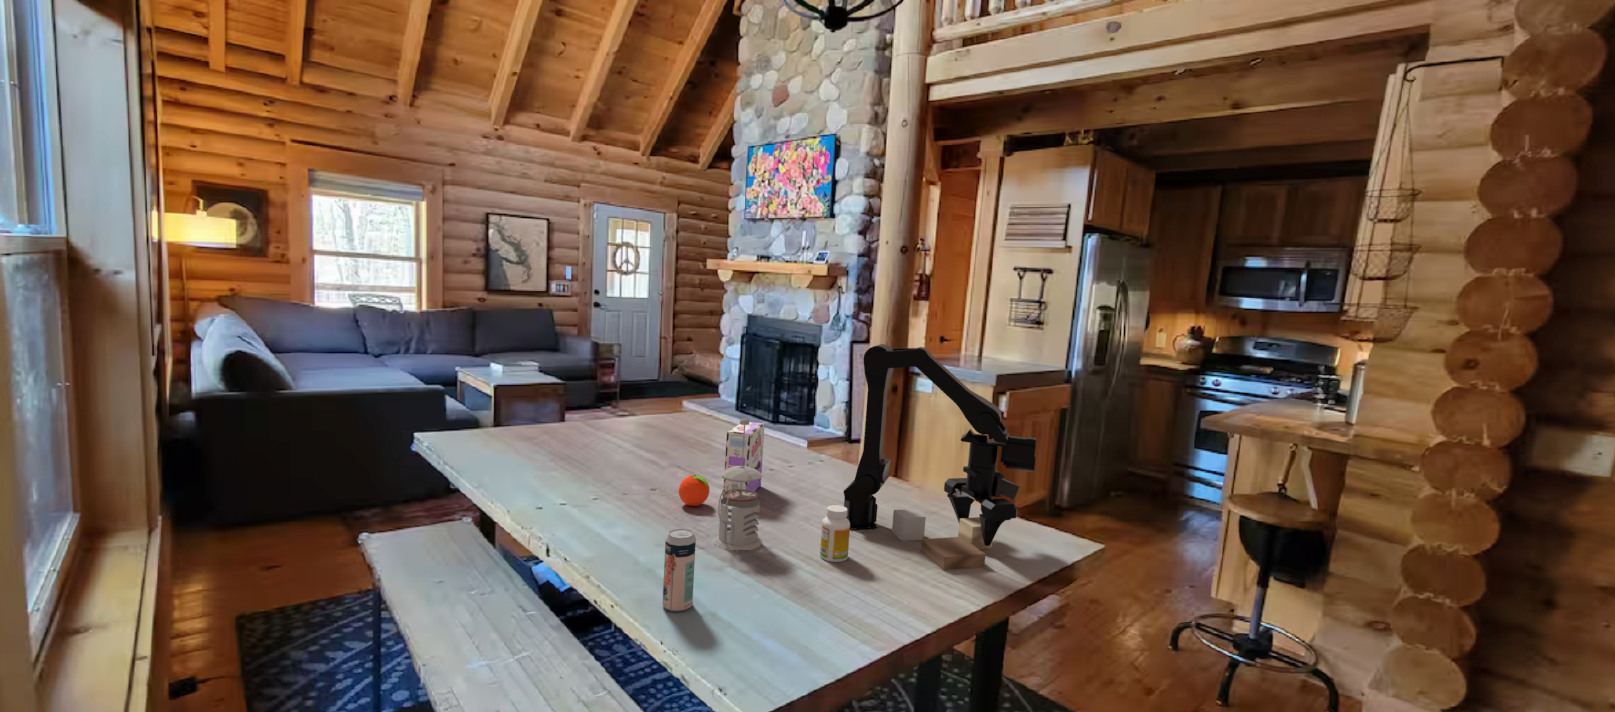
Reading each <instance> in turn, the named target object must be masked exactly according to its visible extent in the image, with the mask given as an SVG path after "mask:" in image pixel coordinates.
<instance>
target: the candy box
mask: <svg viewBox="0 0 1615 712" xmlns="http://www.w3.org/2000/svg"><path fill="white" fill-rule="evenodd" d="M743 434H744V425H741V424H740V423H739V424H737V425H736V426H733V428H731V429H730V430H727V431H726V441H725V442H726V443H725V444H726V445H725V459H724V471H725V470H727V469H728V468H730V467H734V466H742V452H743ZM764 434H765V423H763V422H757V421H756V422H754V421H749V425H745V436H744V453H743V466H747V467H751V468H754V469H756V470H757V471H759V472H760V473H761V474H762V471H763V454H764V438H765V437H764V436H765V435H764ZM762 475H763V474H762ZM725 486H728V490H729V489H732V488H733V487H735V489H736V488H737V489H740V486H741V482H732V481H728V480H725V479H724V478H723V489H724V488H725ZM760 487H762V477H761V478H760V479H759V480H757V481H753V482H742V487H741V489H745V490H746V489H747V490H751V491H755V492H756V491H757V490H758V489H760ZM726 490H727V487H726V488H725V489H724V491H723V490H722V491H723V492H725V491H726ZM723 498H724V497H723V496H722V499H723Z"/></svg>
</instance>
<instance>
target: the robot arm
mask: <svg viewBox="0 0 1615 712" xmlns="http://www.w3.org/2000/svg"><path fill="white" fill-rule="evenodd" d="M862 362H863V368H864V369H863V371H864V376H865V377H864V378H865V381H866V385H867V394H866V395H867V396H866V411H865V423H864V435H863V438H864V439H863V449H862V453H861V457H860V459H859V463H858V465H857V469H856V473H855V477H854V480H852V482H850V484H849V485H847V487H846V488H845V489H844V490H843V495H844V501H843V506H844V507H846V508H847V510H848V511H847V517H846V518H847V519H848V520H849V522H850V530H861V529H862V530H863V529H877V528H878V524H876V522H877V517H878V506H879V505H878V504H877V497H875V496H874V495H876V494H877V493H878V492H879V491H880V490H881V488H882V487H883V486H884V484H885V483H886V482H887V480H888V479H889V477H890V476H891V475H890V469H889V468H890V464H891V458H885V456H884V450H883V449H884V448H883V447H884V436H885V425H886V410H887V395H888V387H889V383H890V380H891V378H892V375H893V372H894V369H901V368H912V367H913V368H916V369H917V370H918V371H920V372H921V373H922V374H923V375H925V377H926V378H927V379H928V380H930V381H931V382H932V383H933V384H934V385H935V386H936V387H937V388H938V389H939V390H940V391H941V392H942V393H943V394H944V395H945V396H947V398H949V399H950V400H951V402H953V403H954V404H955V405H956V406H957V407H958V408H959V410H960V411H961V413H962V415H963V416H964V418H965V419H966V420H967V422H968V423H969V425H970V426H971V427H972V428H973V429H974V431H973V430H972V429H971V428H969V429H968V431H967V432H966V433H964V434H962V435H961V437H960V441H961V443H969V448H968V459H967V460H968V461H967V465H966V466H964V465H963V466H962V467H963V468H962V472H964V473H966V477H956V478H955V477H953V478H948V479H947V480H946V481H945V482H944V485H943V491H944V492H946V493H947V494H946V495H947V496H946V497H947V498H948V499H949V501H950V503H951V506H952V509H953V511H954V514H955V517H956V519H957V522H958V523H959V522H960V518H970V513H971V507H972V504H973V503H974V502H975V501H976V502H977V503H979V504H980V512H981V513H979V516H978V517H980V522H981V528H982V535H983V540H984V545H985V546H990V545H991V542H992V543H993V541H994V538H995V536H996V535H997V532H998V531H999V529H1000V526H1001V525H1002V524H1003V523H1005V522H1006V521H1010V520H1011V519H1017V516H1018V507H1017V506H1016V505H1015V503H1013V502H1011V501H1009V500H1007V498H1009V499H1010V500H1012V501H1015V500H1016V498H1017V494H1018V493H1019V490H1020V488H1021V486H1020V485H1017V484H1016V483H1014V482H1012V481H1009V480H1008V479H1005V477H1004V476H1005V475H1004V473H1003V472H1000V471H999V470H997V467H998V466H997V465H998V463H997V462H998V456H999V455H998V454H999V453H998V452H999V447H1001V450H1000V451H1001V452H1000V463H1002V464H1003V466H1005V467H1004V468H1005V469H1011V470H1016V471H1023V472H1024V471H1025V472H1029V473H1030V472H1031V473H1034V472H1035V466H1036V458H1037V457H1036V455H1037V454H1036V444H1037V438H1036V437H1031V436H1028V437H1024V436H1023V437H1022V436H1018V435H1017V436H1015V435H1010V433H1009V432H1008V429H1007V428H1006V426H1005V425H1004V423H1003V422H1002V412H1001V409H1000V408H999V407H998V406H997V405H996V404H995V403H993V402H991V401H989V400H988V399H987V398H985V397H984V396H982V395H979V394H977V393H976V392H974V391H973V390H971V389H970V388H968V387H967V386H966V385H965V384H964V383H963V382H962V381H961V380H960V379H959V378H958V377H956V376H955V375H954V374H953V372H951V371H950V370H948V368H946V367H945V366H944V365H943V364H942V363H941V362H940V361H939V360H938V359H937V358H936V357H935V356H934V355H932V354H931V352H930V351H929V350H928V349H927V348H925V347H924V346H919V347H898V348H892V346H889V345H888V344H885V343H881V344H877V345H874V346H872V347H870V348H868V349H867V350H866V351H865V352H864V354H863V361H862ZM975 431H976V432H977V433H975ZM990 438H991V439H990ZM1001 496H1004V497H1006V498H1001ZM993 497H994V498H993Z"/></svg>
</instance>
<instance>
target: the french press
mask: <svg viewBox="0 0 1615 712" xmlns="http://www.w3.org/2000/svg"><path fill="white" fill-rule="evenodd" d="M749 422H750V420H749V419H748V418H741V419H740V420H739V424H741V425H744V434H743V452H742V466H734V467H730V468H728V469H727V470H725V469H724V470H723V471H722V472H720V476H721V478H722V479H723V480H724V479H725V480H728V481H732V482H741V486H740V489H737V488H736V489H735V487H733V488H732V489H729V490H728V486H725V488H726V487H727V490H726V491H725V492H723V491H724V489H725V488H724V487H723V489H722V491H721V493H720V496H719V499H718V507H717V508H718V509H717V512H718V513H717V514H718V519H719V522H718V523H719V524H718V534H717V535H716V537H714V538H713V539H714V543H713V545H715V544H717V545H718V546H719V547H722V548H724V549H723V550H725V549H727V550H726V551H730V550H748V551H753V550H755V549H758V548H760V547H761V546H760V545H761V544H762V545H763V541H762V539H761V537H759V534H758V533H757V532H759V527H758V526H759V524H760V523H759V521H758V520H759V519H760V516H759V514H758V513H760V506H761V503H760V500H759V499H758V498H759V493H757V492H756V491H751V490H747V489H746V490H745V489H741V487H742V482H753V481H757V480H759V479H760V478H761V479H762V477H763V474H761V473H760V472H759V471H757V470H756V469H754V468H751V467H747V466H743V453H744V436H745V425H749ZM723 497H724V498H723ZM729 507H731V508H729ZM729 513H730V514H731V515H730V514H729ZM729 519H730V521H729ZM757 519H758V520H757ZM728 525H729V526H730V527H729V526H728ZM719 547H718V548H719ZM722 548H721V549H722Z"/></svg>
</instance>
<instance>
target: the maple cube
mask: <svg viewBox="0 0 1615 712" xmlns="http://www.w3.org/2000/svg"><path fill="white" fill-rule="evenodd" d="M957 535H958V536H957V537H962V538H963V539H965V540H966V541H968V542H969V543H971V544H972V545H973V546H975V547H976V548H978V549H979V550H988V549H992V548H993V547H992V546H993V541H992V542H991V545H990V546H985V545H984V540H983V535H982V528H981V522H980V516H978V517H976V516H975V517H969V518H960V522H958V534H957Z"/></svg>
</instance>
